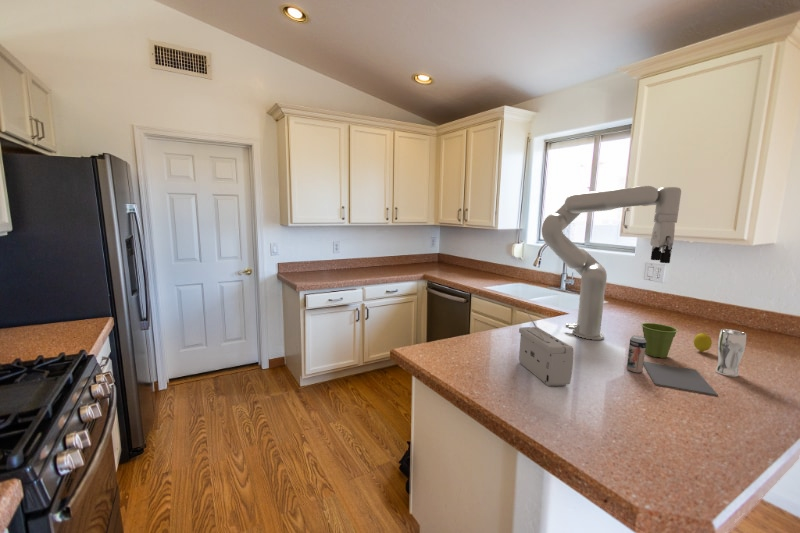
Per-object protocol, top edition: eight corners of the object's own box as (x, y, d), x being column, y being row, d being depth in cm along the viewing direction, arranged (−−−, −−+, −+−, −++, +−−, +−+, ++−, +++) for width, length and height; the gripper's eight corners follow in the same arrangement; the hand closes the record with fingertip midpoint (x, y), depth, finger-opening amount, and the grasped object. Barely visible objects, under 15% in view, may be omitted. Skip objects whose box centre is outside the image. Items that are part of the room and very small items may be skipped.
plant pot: (676, 355, 142) (680, 327, 141) (672, 363, 134) (676, 334, 132) (640, 346, 150) (644, 320, 149) (634, 354, 142) (638, 326, 140)
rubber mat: (654, 384, 116) (654, 383, 116) (642, 362, 134) (642, 361, 134) (717, 396, 109) (718, 394, 109) (695, 371, 127) (695, 369, 127)
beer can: (623, 367, 128) (627, 335, 127) (635, 367, 129) (639, 335, 127) (632, 373, 124) (637, 339, 122) (645, 373, 124) (650, 339, 122)
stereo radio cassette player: (571, 387, 112) (578, 325, 109) (547, 389, 111) (553, 326, 108) (535, 360, 133) (540, 307, 130) (515, 361, 131) (519, 308, 128)
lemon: (713, 355, 143) (716, 335, 142) (697, 353, 144) (700, 334, 143) (704, 350, 149) (707, 331, 148) (689, 348, 150) (692, 330, 149)
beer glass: (733, 370, 128) (740, 330, 126) (744, 379, 122) (752, 336, 120) (709, 367, 131) (715, 327, 128) (719, 375, 124) (726, 333, 122)
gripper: (647, 218, 154) (641, 258, 156) (663, 218, 137) (657, 263, 140) (667, 219, 151) (662, 259, 154) (686, 219, 135) (680, 264, 137)
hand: (659, 261), depth 147 cm, fingers open, 9 cm apart
